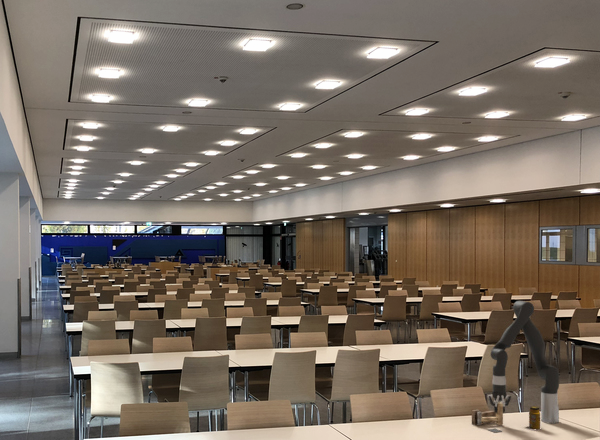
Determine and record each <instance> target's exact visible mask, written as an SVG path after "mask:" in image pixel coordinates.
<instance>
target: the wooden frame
mask: <svg viewBox="0 0 600 440" xmlns="http://www.w3.org/2000/svg"><path fill="white" fill-rule="evenodd" d="M482 412H483V411H480V412H477V422H478V425H477V426H482V422H484V421H496V422H495V424H496V425H500V426H501V425H504V413H503V404H502V403H501V401H500V402H498V403H497V413H496V417H482Z"/></svg>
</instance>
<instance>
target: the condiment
mask: <svg viewBox="0 0 600 440" xmlns="http://www.w3.org/2000/svg"><path fill="white" fill-rule="evenodd" d="M528 422H529V423H528V426H524V427H523V428H525V429H527V430H531V431H538V430H539V431H540V430H544V428H543V427H541V409H540V407H539V406H535V405H531V406H530V405H529V411H528ZM540 428H541V429H540ZM534 429H536V430H534Z"/></svg>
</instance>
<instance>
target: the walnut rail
mask: <svg viewBox="0 0 600 440" xmlns="http://www.w3.org/2000/svg"><path fill="white" fill-rule="evenodd" d="M477 412H482V417H496V413H495V412H494V409H493V410H487V411H481V410H480V409H472V410H471V425H473V426H479V425H478V422H477ZM490 423H496V421H484V422H482V424H490Z"/></svg>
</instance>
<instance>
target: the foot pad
mask: <svg viewBox="0 0 600 440" xmlns="http://www.w3.org/2000/svg"><path fill="white" fill-rule="evenodd" d="M487 431H488V432H492V433H494V434H496V433H502V431H503V430H501V429H498V428H489V429H487Z"/></svg>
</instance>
